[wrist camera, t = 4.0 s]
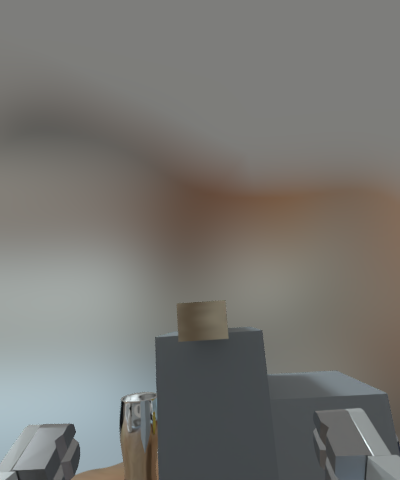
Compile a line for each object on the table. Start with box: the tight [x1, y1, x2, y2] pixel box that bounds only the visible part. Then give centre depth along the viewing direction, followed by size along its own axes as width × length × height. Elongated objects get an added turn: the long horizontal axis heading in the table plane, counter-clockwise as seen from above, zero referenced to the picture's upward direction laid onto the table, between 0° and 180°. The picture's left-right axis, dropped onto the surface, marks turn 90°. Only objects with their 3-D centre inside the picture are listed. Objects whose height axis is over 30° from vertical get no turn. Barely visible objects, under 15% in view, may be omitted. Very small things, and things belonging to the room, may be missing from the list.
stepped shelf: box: [155, 327, 400, 480], centre depth 37 cm, size 24×14×26 cm, turn 86°
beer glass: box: [119, 392, 158, 480], centre depth 52 cm, size 7×7×15 cm
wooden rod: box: [177, 300, 229, 342], centre depth 36 cm, size 4×24×3 cm, turn 176°
